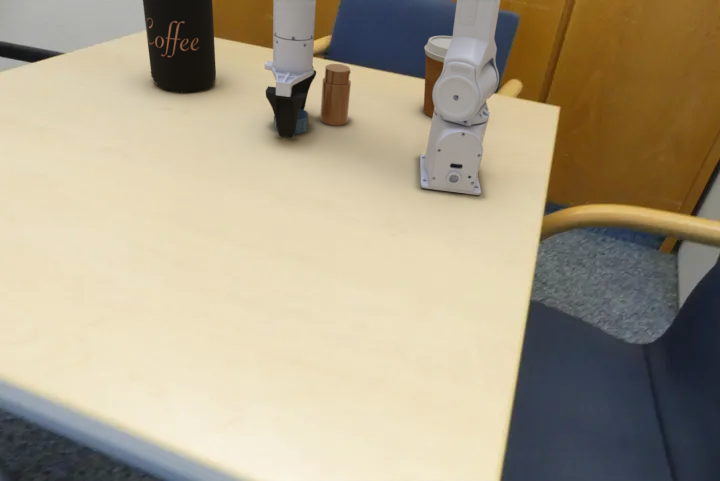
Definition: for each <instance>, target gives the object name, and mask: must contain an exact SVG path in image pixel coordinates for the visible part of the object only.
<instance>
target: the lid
mask: <svg viewBox="0 0 720 481" xmlns="http://www.w3.org/2000/svg"><path fill="white" fill-rule="evenodd" d="M309 121H310V120H309V112H308V111H306V110H305V109H304V110H303V109H300V110H299V114H298V119H297V125H296V129H295V133H294V135H300V134H303V133H305V132H307V131H308V128H309ZM273 127H274V130H276V131H277V132H278V129H277V124H276V120H275V115H273Z"/></svg>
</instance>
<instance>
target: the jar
mask: <svg viewBox="0 0 720 481" xmlns="http://www.w3.org/2000/svg"><path fill="white" fill-rule="evenodd" d="M324 69H325V70H324V77H323V78H322V82H321V83H322V84H321V100H320V115H319V116H320V117H319V120H320V121H321V122H322V123H323V124H326V125H329V126H344V125H345V124H347V123H348V120H349V107H350V96H351V86H352V81H351V80H350V76H351V74H352V73H351V72H352V71H351V67H350V66H348V65H345V64H341V63H330V64H327V65H325V68H324Z"/></svg>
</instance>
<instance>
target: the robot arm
mask: <svg viewBox="0 0 720 481" xmlns="http://www.w3.org/2000/svg"><path fill="white" fill-rule="evenodd" d="M272 3H273V4H272V6H273V8H272V10H273V11H272V15H273V17H272V18H273V19H272V60H266V62H265V63H264V70H267V71H271V72H272V75H273V77H274V79H275V86H269V85H268V86H267V87H266V89H265V98H266V99H267V101H268V102H269V104H270V107H271V109H272V111H273V114H274V115H275V120H276V124H277V129H278V131H277V132H278V135H279V136H280V137H285V138H286V137H287V138H293V137H294V135H295V134H294V133H295V129H296V125H297V119H298V114H299V110H300V109H303V110H305V107H306V102H307V99H308V94H309V90H310V88H311V85H312V83H313V81H314V79H315V78H316V75H317V70H315V67H314V64H313V63H314V46H315V45H314V44H315V26H316V24H315V23H316V5H317V0H273V2H272ZM500 6H501V0H456V6H455V12H454V21H453V22H454V23H453V30H452V35H451V36H452V40H451V43H450V46H449V48H448V51H447V53H446V56H445V59H444V65H443V71H442V73H441V75H440V77H439V79H438V80H437V81H436V83H435V85H434V88H433V94H432V97H433V103H434V106H435V107H434V112H433V117H431V118H432V119H431V123H430V129H429V135H428V139H427V146H426V151H425V154H421V155H420V156H419V169H420V170H419V173H420V174H419V175H420V187H421V188H423V189H427V190H435V191H442V192H450V193H458V194H467V195H475V196H479V195H481V193H482V189H481V185H480V181H479V180H480V179H479V170H480V168H481V167H480V166H481V162H482V159H483V154H484V147H483V142H484V139H485V135H486V130H487V126H488V123H489V118H490V110H489V106H488V103H487V100H489V99H490V98H491V97H492V96H493V95H494V94H495V93H496V91H497V89H498V86H499V82H500V74H499V70H498V68H497V67H498V66H497V64H496V57H497V51H498V48H497V44H496V40H495V36H496V29H497V24H498V17H499V13H500V12H499V11H500ZM274 115H273V116H274Z"/></svg>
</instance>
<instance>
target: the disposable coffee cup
mask: <svg viewBox="0 0 720 481" xmlns="http://www.w3.org/2000/svg"><path fill="white" fill-rule="evenodd" d="M452 36H453V35H435V36H431V37H429V38H428V40H427V42H426V44H425V45H424V47H423V50H424V52H425V53H424V54H425V71H424V72H425V74H424V92H423V93H424V95H423V112H424V114H425V115H427V116H428V117H430V118H433V112H434V107H435V106H434V103H433V97H432V94H433V88H434V85H435V83H436V81H437V80H438V79H439V77H440V75H441V73H442V71H443V65H444V59H445V56H446V53H447V51H448V48H449V46H450V43H451V40H452Z"/></svg>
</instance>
